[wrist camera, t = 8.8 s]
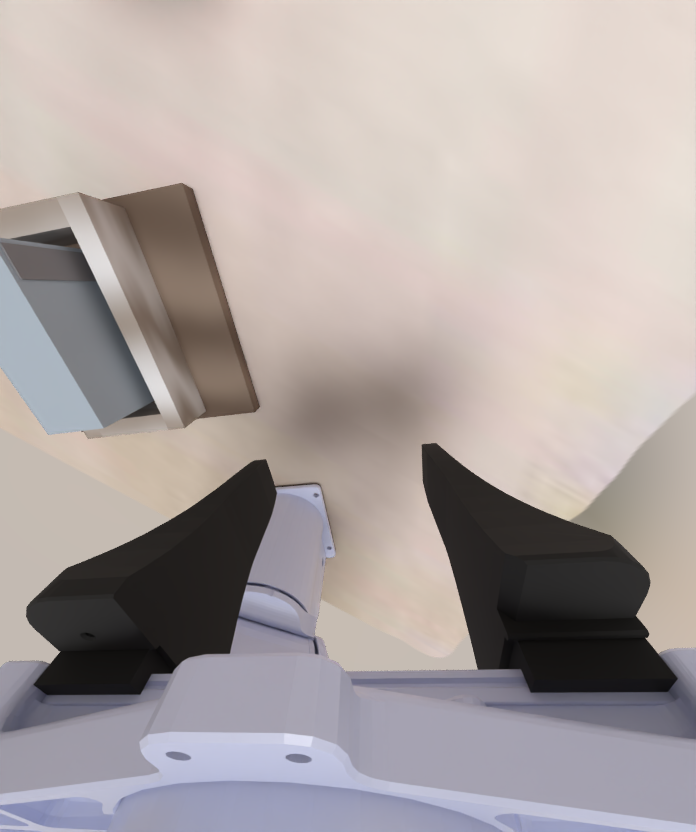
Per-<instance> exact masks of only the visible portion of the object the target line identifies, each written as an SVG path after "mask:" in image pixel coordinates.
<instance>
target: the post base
mask: <svg viewBox="0 0 696 832" xmlns="http://www.w3.org/2000/svg"><path fill="white" fill-rule="evenodd" d="M0 238H6V239H13V240H20V241H27V242H35V243H42V244H49V245H56V246H63V247H70V248H77V249H81V250H82V252H83V254H84V256H85V258H86V260H87V262H88V264H89V266H90V268H91V270H92V272H93V274H94V276H95V279H96V281H97V283H98V285H99V287H100V289H101V291H102V293H103V295H104V297H105V299H106V301H107V303H108V305H109V308H110V310H111V312H112V314H113V316H114V318H115V320H116V322H117V324H118V326H119V328H120V330H121V332H122V334H123V337H124V339H125V341H126V343H127V345H128V347H129V349H130V351H131V353H132V355H133V357H134V359H135V361H136V363H137V366H138V368H139V370H140V372H141V374H142V376H143V378H144V380H145V382H146V384H147V386H148V388H149V390H150V392H151V395H152V397H153V399H154V401H153V402H151V403H149V404H148V405H146V406H144V407H142V408H140V409H138V410H137V411H135V412H133V413H131V414H129V415H127V416H126V417H124V418H122V419H120V420H118V421H116V422H115V423H113V424H111V425H109V426H107V427H105V428H102V429H94V430H85V431H81V432H84V433H85V435H86V436H87V438H88V439H91V438H100V437H109V436H118V435H127V434H136V433H145V432H154V431H163V430H171V429H180V428H185V427H187V426H188V425H189V424H190V423H192V422H193V421H194V420H196V419H199V418H208V417H216V416H225V415H234V414H242V413H251V412H255V411H256V410H257V409H258V408H259V404H258V401H257V398H256V394H255V391H254V388H253V385H252V381H251V378H250V375H249V372H248V368H247V365H246V362H245V359H244V355H243V352H242V349H241V346H240V342H239V339H238V336H237V333H236V329H235V326H234V323H233V320H232V316H231V313H230V310H229V307H228V303H227V300H226V297H225V294H224V290H223V287H222V284H221V281H220V277H219V274H218V271H217V268H216V264H215V261H214V258H213V255H212V251H211V248H210V245H209V242H208V238H207V235H206V232H205V229H204V225H203V222H202V219H201V216H200V212H199V209H198V206H197V203H196V199H195V196H194V193H193V190H192V188H190V187H188V186H186V185H185V184H183V183H179V184H175V185H170V186H165V187H160V188H156V189H151V190H146V191H141V192H137V193H132V194H127V195H122V196H118V197H113V198H108V199H103V200H100V199H97V198H94V197H91V196H88V195H85V194H82V193H79V192H77V193H72V194H67V195H63V196H58V197H54V198H49V199H44V200H40V201H35V202H30V203H26V204H21V205H17V206H12V207H7V208H3V209H0Z"/></svg>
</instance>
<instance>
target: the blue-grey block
mask: <svg viewBox="0 0 696 832" xmlns="http://www.w3.org/2000/svg"><path fill="white" fill-rule="evenodd" d="M0 367H1V369H2V370H3V371H4V373H5V374H6V376H7V377H8V379H9V380H10V381H11V383H12V384H13V386H14V387H15V388H16V390H17V391H18V393H19V394H20V396H21V397H22V398H23V400H24V401H25V403H26V404H27V405H28V407H29V408H30V410H31V411H32V413H33V414H34V415H35V417H36V418H37V420H38V421H39V422H40V424H41V425H42V427H43V428H44V430H45V431H46V432H47V434H48V435H51V434H59V433H68V432H76V431H85V430H94V429H102V428H105V427H107V426H109V425H111V424H113V423H115V422H116V421H118V420H120V419H122V418H124V417H126V416H127V415H129V414H131V413H133V412H135V411H137V410H138V409H140V408H142V407H144V406H146V405H148V404H149V403H151V402H153V401H154V399H153V397H152V395H151V392H150V390H149V388H148V386H147V384H146V382H145V380H144V378H143V376H142V374H141V372H140V370H139V368H138V366H137V363H136V361H135V359H134V357H133V355H132V353H131V351H130V349H129V347H128V345H127V343H126V341H125V339H124V337H123V334H122V332H121V330H120V328H119V326H118V324H117V322H116V320H115V318H114V316H113V314H112V312H111V310H110V308H109V305H108V303H107V301H106V299H105V297H104V295H103V293H102V291H101V289H100V287H99V285H98V283H97V281H96V279H95V276H94V274H93V272H92V270H91V268H90V266H89V264H88V262H87V260H86V258H85V256H84V254H83V252H82V250H81V249H77V248H70V247H63V246H56V245H49V244H42V243H35V242H27V241H20V240H13V239H6V238H0Z"/></svg>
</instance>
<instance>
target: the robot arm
mask: <svg viewBox="0 0 696 832" xmlns="http://www.w3.org/2000/svg"><path fill="white" fill-rule="evenodd" d="M422 468H423V484H424V488H425V492H426V496H427V500H428V503H429V506H430V508H431V511H432V514H433V516H434V519H435V521H436V524H437V527H438V529H439V532H440V534H441V537H442V540H443V542H444V545H445V547H446V550H447V553H448V556H449V560H450V563H451V567H452V570H453V574H454V577H455V581H456V585H457V589H458V592H459V596H460V600H461V604H462V607H463V611H464V615H465V619H466V623H467V627H468V631H469V635H470V639H471V643H472V647H473V651H474V655H475V659H476V664H477V668H478V670H420V671H345V670H344V669H343V668H342V667H341V665H340V664H339V663H338V662H336V661H333V660H331V659H329V657H328V654H327V651H326V646H325V644H324V641H323V640H322V638H320V637H317V636H314V635H315V628H316V622H317V618H318V614H319V607H320V600H321V592H322V584H323V577H324V569H325V561H326V558H332V557H334V556H335V554H336V551H335V546H334V542H333V538H332V534H331V529H330V525H329V521H328V517H327V512H326V508H325V504H324V500H323V495H322V491H321V487H320V486H319V485H317V484H312V485H300V486H288V487H276V488H275V485H274V482H273V479H272V476H271V473H270V470H269V467H268V463H267V460H255V461H253V462H251V463H250V464H248V465H247V466H245V467H244V468H243V469H241V470H240V471H239V472H238V473H236V474H235V475H234V476H233V477H231V478H230V479H229V480H227V481H226V482H225V483H224V484H222V485H221V486H220V487H218V488H217V489H216V490H214V491H213V492H212V493H210V494H209V495H208V496H206V497H205V498H203V499H202V500H201V501H199V502H198V503H196V504H195V505H193V506H192V507H190V508H189V509H187V510H186V511H184V512H183V513H181V514H179V515H178V516H176V517H174V518H173V519H171V520H169V521H168V522H166V523H164V524H162V525H160V526H159V527H157V528H155V529H153V530H151V531H149V532H148V533H146V534H144V535H142V536H140V537H138V538H136V539H134V540H132V541H130V542H127V543H125V544H123V545H121V546H119V547H117V548H115V549H112V550H110V551H108V552H105V553H103V554H101V555H98V556H96V557H93V558H91V559H88V560H86V561H84V562H81V563H79V564H76V565H74V566H71V567H68V568H67V569H65V570H64V571H63V572H62V573H61V574H60V575H59V576H58V577H56V578H55V579H54V580H53V581H52V582H51V583H50V584H49V585H48V586H47V587H46V588H45V589H44V590H43V591H42V592H41V593H40V594H39V595H38V596H36V597H35V598H34V599H33V600H32V601H31V602H30V604H29V605H28V606H27V610H26V611H27V613H26V617H27V619H28V621H29V623H30V624H31V625H32V627H33V628H34V629H35V630H36V631H37V632H39V633H40V634H41V635H42V636H43V637H44V638H45V639H46V640H48V641H49V642H50V643H51V644H52V645H53V646H54V647H55V648H57V649H58V650H59V651H61V652H60V653H59V654H58V655H57V657H56V658H55V659H54V660H53V661H52V663H51V664H49V663H46V662H43V661H9V662H6V663H4V664H3V665H2V666H1V667H0V832H696V648H674V649H668V650H665V651H663V652H660V653H659V654H658V653H657V652H656V651H655V650H654V648H653V647H652V646H651V645H650V643H649V642H648V641H647V640H646V638H647V637H648V636H649V632H648V630H647V629H646V628H645V626H644V625H643V624H642V623H641V621H640V620H639V619H638V618H637V617H636V614H637V612H638V610H639V609H640V607H641V605H642V603H643V601H644V599H645V597H646V596H647V593H648V590H649V587H650V578H649V573H648V572H647V571H646V570H645V568H644V567H643V566H642V565H641V564H640V563H639V562H638V561H637V560H636V559H635V558H634V557H633V556H632V555H631V554H630V553H629V552H628V551H627V550H626V549H625V548H624V547H623V546H622V545H621V544H620V543H619V542H617V541H616V540H615V539H614V538H613V537H612V536H611V535H607V534H604V533H601V532H598V531H595V530H592V529H589V528H586V527H583V526H580V525H577V524H574V523H571V522H569V521H566V520H564V519H561V518H559V517H556V516H554V515H551V514H548V513H546V512H544V511H541V510H539V509H537V508H534V507H532V506H530V505H528V504H526V503H524V502H522V501H520V500H518V499H516V498H514V497H512V496H510V495H508V494H506V493H504V492H503V491H501V490H499V489H497V488H496V487H494V486H492V485H490V484H489V483H487V482H486V481H484V480H483V479H481V478H480V477H478V476H477V475H475V474H474V473H472V472H471V471H470V470H468V469H467V468H465V467H464V466H463V465H462V464H460V463H459V462H458V461H457V460H455V459H454V458H453V457H452V456H451V455H449V454H448V453H447V452H446V451H445V450H443V449H442V448H441V447H440V446H439V445H438V444H436V443H432V444H422ZM314 493H317V494H318V495H316V494H314ZM329 546H330V547H329Z"/></svg>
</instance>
